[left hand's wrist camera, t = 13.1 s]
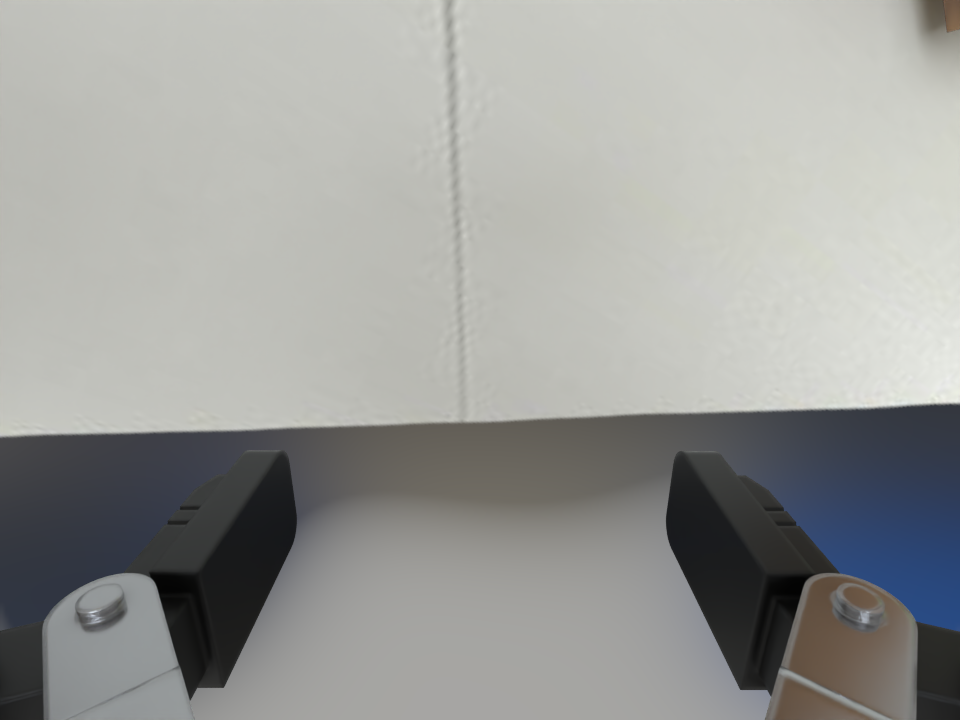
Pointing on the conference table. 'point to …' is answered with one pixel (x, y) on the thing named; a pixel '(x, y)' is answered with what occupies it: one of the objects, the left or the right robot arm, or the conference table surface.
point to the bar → (952, 14)
